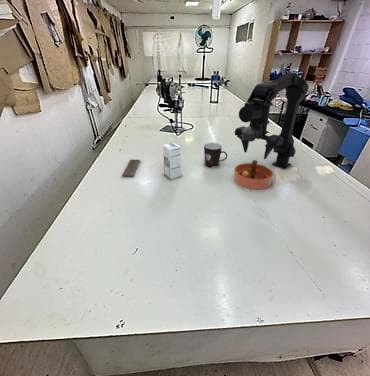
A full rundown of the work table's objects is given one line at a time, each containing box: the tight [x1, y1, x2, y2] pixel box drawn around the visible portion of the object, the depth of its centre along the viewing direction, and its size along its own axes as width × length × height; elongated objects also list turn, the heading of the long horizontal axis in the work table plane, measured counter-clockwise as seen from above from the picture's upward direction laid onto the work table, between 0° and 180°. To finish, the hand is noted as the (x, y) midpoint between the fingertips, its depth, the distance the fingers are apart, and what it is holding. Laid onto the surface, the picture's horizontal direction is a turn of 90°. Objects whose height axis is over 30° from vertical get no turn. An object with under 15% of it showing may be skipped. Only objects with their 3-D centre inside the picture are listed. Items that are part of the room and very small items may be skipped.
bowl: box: [233, 162, 274, 191], centre depth 100 cm, size 16×16×5 cm
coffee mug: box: [203, 142, 228, 169], centre depth 113 cm, size 12×9×10 cm
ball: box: [242, 171, 249, 178], centre depth 103 cm, size 3×3×3 cm
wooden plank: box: [122, 158, 141, 177], centre depth 111 cm, size 17×1×5 cm
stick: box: [250, 159, 258, 179], centre depth 99 cm, size 2×2×9 cm
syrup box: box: [162, 142, 182, 180], centre depth 103 cm, size 6×6×14 cm
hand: (254, 155), depth 97 cm, fingers open, 9 cm apart
